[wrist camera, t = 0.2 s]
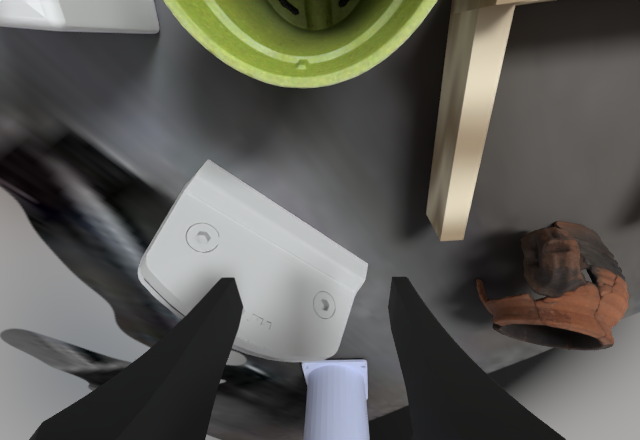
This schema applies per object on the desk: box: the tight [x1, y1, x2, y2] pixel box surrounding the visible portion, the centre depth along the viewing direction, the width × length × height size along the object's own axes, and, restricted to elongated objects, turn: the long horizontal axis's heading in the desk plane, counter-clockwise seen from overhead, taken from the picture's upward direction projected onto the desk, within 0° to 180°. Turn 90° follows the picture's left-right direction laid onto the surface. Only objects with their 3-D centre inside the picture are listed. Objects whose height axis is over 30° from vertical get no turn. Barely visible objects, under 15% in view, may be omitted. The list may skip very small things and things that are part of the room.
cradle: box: [426, 0, 555, 241], centre depth 15 cm, size 14×18×5 cm
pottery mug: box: [476, 221, 629, 350], centre depth 22 cm, size 12×10×8 cm
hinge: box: [138, 159, 368, 362], centre depth 21 cm, size 17×5×10 cm, turn 52°
